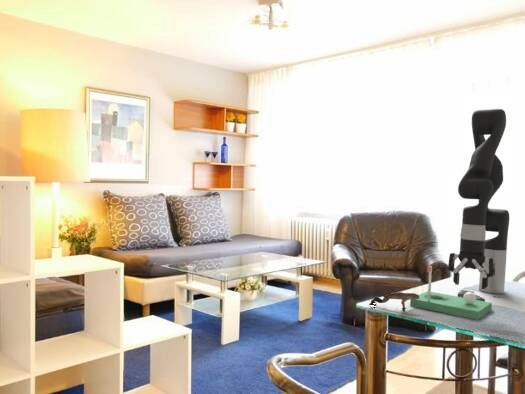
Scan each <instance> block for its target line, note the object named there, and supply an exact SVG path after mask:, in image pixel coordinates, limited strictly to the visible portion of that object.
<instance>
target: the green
mask: <svg viewBox="0 0 525 394" xmlns="http://www.w3.org/2000/svg"><path fill="white" fill-rule="evenodd" d="M418 295H419V299H411V300H410V303H409V306H410V307H414V308H415V307H416V308H420V309H426V310H430V311H434V312H440V313H444V314H450V315H453V316H459V317H462V318H463V317H464V318H469V319H473V320H479V319H481V318H482V317H484V316H485V315H487V314H488V313H490V312H491V311H492V310H493V309H492V308H493V304H492V302H489V301H486V300H485V301H479V300H476V301H475V303H473V304H467V303H465V301H464V300H463V297H458V295H450V294H445V293H439V292H434V291H431V295H430V302H429V301H428V290H427V291H425V292H423V293H420V294H418Z"/></svg>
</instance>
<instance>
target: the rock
mask: <svg viewBox="0 0 525 394" xmlns="http://www.w3.org/2000/svg"><path fill="white" fill-rule="evenodd" d="M467 292H468V291H467V290H463V291H459V292H458V293H457V297H463V296H464V294H465V293H467ZM475 296H476V300H479V301H485V302H486V299H485V298H484V297H482V296H480V295H477V294H475Z"/></svg>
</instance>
